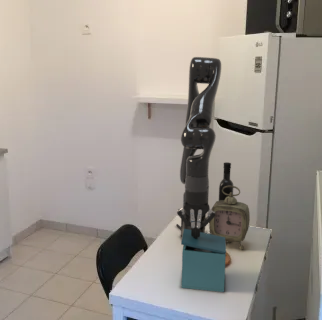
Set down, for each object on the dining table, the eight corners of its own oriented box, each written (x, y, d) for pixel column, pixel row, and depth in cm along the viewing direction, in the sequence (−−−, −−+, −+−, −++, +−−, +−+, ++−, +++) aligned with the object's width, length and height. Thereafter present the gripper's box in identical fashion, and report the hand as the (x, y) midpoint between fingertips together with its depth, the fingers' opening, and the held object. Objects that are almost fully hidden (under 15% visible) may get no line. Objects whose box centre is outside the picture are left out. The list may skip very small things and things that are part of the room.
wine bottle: (231, 227, 194) (234, 161, 187) (230, 232, 189) (233, 165, 182) (218, 226, 196) (221, 161, 189) (217, 231, 191) (219, 164, 183)
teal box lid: (181, 244, 142) (181, 242, 142) (183, 230, 153) (184, 228, 153) (225, 254, 139) (226, 252, 139) (224, 239, 150) (225, 237, 150)
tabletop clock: (208, 246, 176) (210, 186, 170) (212, 237, 184) (215, 180, 178) (245, 252, 170) (249, 190, 164) (248, 243, 178) (252, 184, 172)
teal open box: (181, 287, 145) (182, 250, 142) (184, 271, 156) (184, 236, 153) (223, 292, 142) (225, 254, 139) (223, 274, 153) (225, 239, 150)
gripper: (217, 185, 144) (215, 234, 148) (177, 183, 147) (176, 231, 151) (217, 192, 137) (215, 243, 141) (175, 190, 140) (174, 240, 144)
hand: (195, 237), depth 146 cm, fingers closed
